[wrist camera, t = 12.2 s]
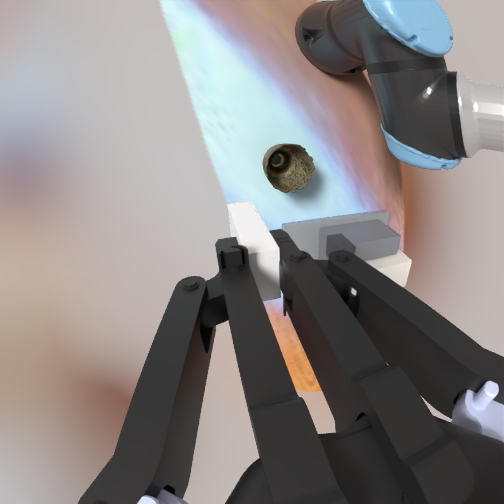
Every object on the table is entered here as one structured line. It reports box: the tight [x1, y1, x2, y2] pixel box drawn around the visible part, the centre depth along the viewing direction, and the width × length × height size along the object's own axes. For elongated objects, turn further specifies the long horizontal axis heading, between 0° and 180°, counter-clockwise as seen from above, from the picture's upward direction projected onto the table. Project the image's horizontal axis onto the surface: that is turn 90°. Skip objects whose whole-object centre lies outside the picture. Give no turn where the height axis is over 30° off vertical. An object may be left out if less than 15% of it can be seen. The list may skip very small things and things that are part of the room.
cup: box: [263, 144, 314, 193], centre depth 42 cm, size 8×7×8 cm
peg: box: [351, 249, 412, 295], centre depth 51 cm, size 14×6×7 cm, turn 94°
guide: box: [282, 210, 401, 261], centre depth 53 cm, size 24×17×10 cm
